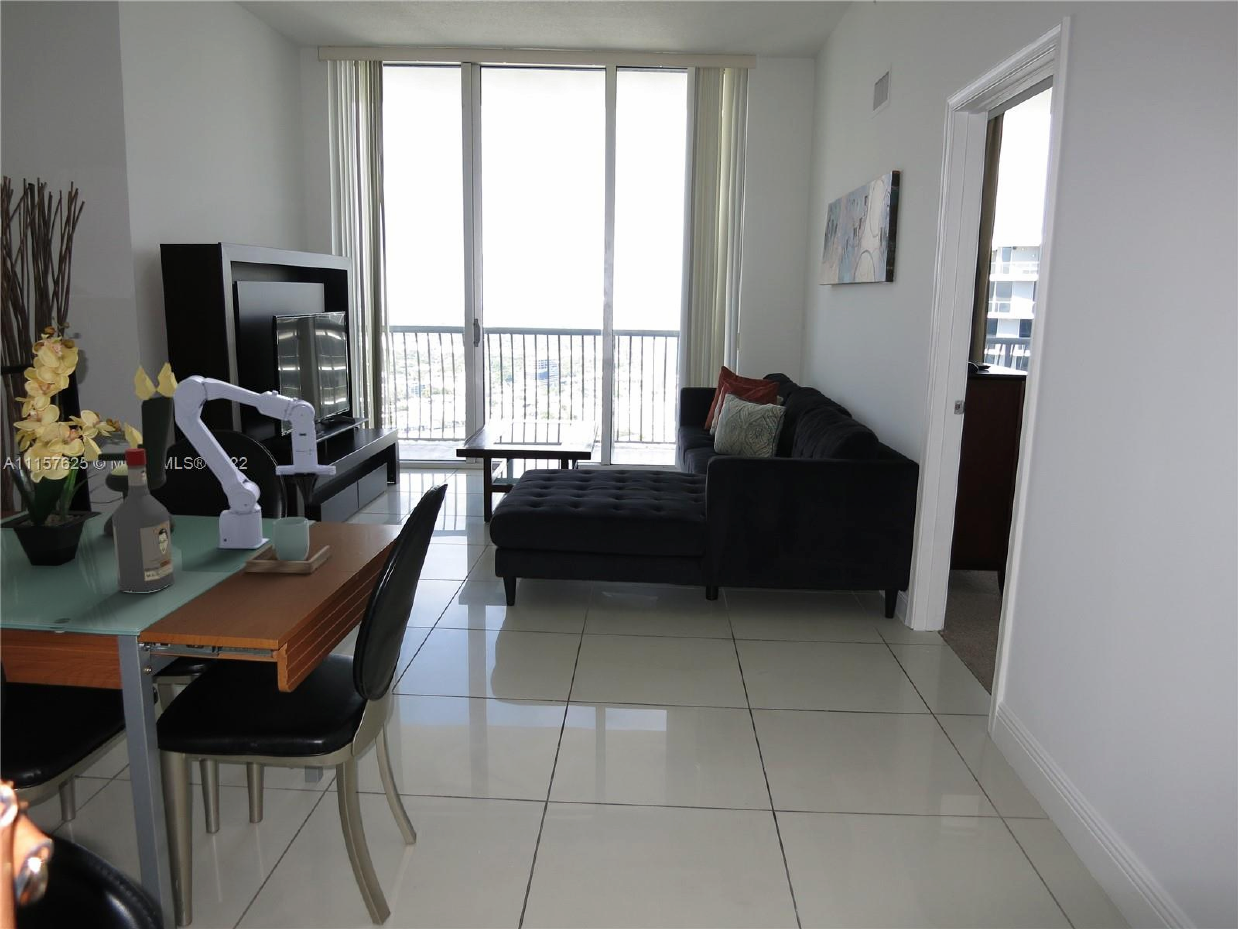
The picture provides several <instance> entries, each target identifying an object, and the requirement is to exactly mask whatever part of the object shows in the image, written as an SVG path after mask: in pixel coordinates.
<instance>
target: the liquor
mask: <svg viewBox="0 0 1238 929" xmlns="http://www.w3.org/2000/svg"><path fill="white" fill-rule="evenodd" d="M124 452H125V456H126V461H125V464H126V465H127V470H128V483H129V490H128V496H127V497H126V498H125V497H124V499H123V501H122V502H121V503H120V504H119V506H118V507H117V508H116V509H115V510H114V511H113V513H112V514H113V516H112V523H113V533H114V538H113V541H114V553H115V554H114V556H115V564H116V574H117V586H118V587H119V589H120V590H121V592H123V591H129V592H130V591H132V592H149V591H154V590H159V589H162V588H164V587H165V586H167V585H169V584H171V583H172V582H174V578H175V576H174V565H173V552H172V550H173V549H172V542H171V541H172V540H171V531H170V525H169V513H170V512H169V511H168V509H167V507H165V506H164V505H163V504H162V503H160V501H158V500H157V499H156V498H155V497H154V496H152V494H151V490H150V491H149V489H148V485H147V476H146V466H145V464H146V456H145V449H131V448H129V449H126V450H124ZM168 512H169V513H168ZM172 584H173V583H172ZM172 584H171V585H172ZM164 589H165V588H164ZM162 590H163V589H162Z"/></svg>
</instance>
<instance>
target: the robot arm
mask: <svg viewBox="0 0 1238 929" xmlns="http://www.w3.org/2000/svg"><path fill="white" fill-rule="evenodd" d="M177 384H178V385H177V388H176V390H175V393H174V396H173V400H174V416H175V418H174V420H175V423H176V425H177V426H178V427H179V429H180V430H181V431H182V432H183V434H184V436H185V437H186V438H187V439H188V442H190V443H191V445H192V446H193V448H194V449H195V450H196V452H197V453H198V454H199V455H200V457H201V458H202V460H203V461H205V463H206V465H207V466H208V467H209V469H210V470H211V471H212V473H213V474H214V475H215V477H216V478H217V479H218V481H219V482H220V483H221V487H222V489H223V492H224V493H225V494H226V495H225V496H227V499H228V506H229V507H230V508H229V509H226V510H222V512H221V513H220V515H219V520H218V529H219V530H218V531H219V541H220V542H219V545H218V547H219V549H244V550H245V549H246V550H247V549H249V550H250V549H251V550H253V549H254V550H257V549H259V548H260V547H262V546H264V544H266V543H267V542H269V540H270V539H269V538H265V537H264V536H263V525H262V524H263V522H262V510H261V509H262V507H261V506H260V505H259V503H258V502H257V501H258V500H259V498H260V496H261V491H260V488H259V486H258V485H257V484H256V483H255V482H254V481H251V480H249V478H248V477H247V476H246V475H245V474H244V473H243V472H241V471H240V470H239V469H238V468H237V466H236V465H235V464H234V463H233V461H232V459H231V458H230V457H229V456H228V454H227V452H226V451H225V450H224V449H223V448H222V446H221V445H220V443H219V442H218V441H217V440H216V438H215V436H214V435H213V433H212V432H211V431H210V430H209V429H208V427H207V426H206V425H205V423H204V422H203V421H202V419H201V417H200V416H201V413H202V410H203V407H204V406H203V405H204V404H205V402H206V401H211V400H213V401H214V400H216V399H217V400H218V399H227V400H230V401H234V402H238V403H241V404H245V405H249V406H253V407H256V409H257V410H258V412H259V413H260V414H262V415H265V416H269V417H271V418H275V419H279V420H281V421H284V422H285V421H286V422H287V421H289V422H290V423H291V427H292V428H291V430H292V431H291V442H292V444H291V446H292V459H293V464H292V465H278V466H276V467H275V474H276V475H277V476H281V475H294V476H293V478H292V480H293V482H294V483H295V484H296V486H297V487H298V489H299V492H300V493H301V497H302V500H303V503H304V504H310V503H312V502H313V497H314V496H313V495H314V491H315V488H316V485H317V482H318V480H319V478H320V475H330V476H334V475H336V474H337V469H336V468H337V467H336V466H335V465H324V464H323V465H321V464H318V451H317V450H318V448H317V431H316V430H315V428H316V426H315V416H316V411H315V408H314V406H313V405H312V404H311V403H310V402H308V401H306V400H299V399H298V398H297V397H293V398H291V397H287V396H284V395H281V394H279V392H278V391H276V390H272V391H265V392H263V393H257V392H255V391H251V390H248V389H246V388H243V387H240V386H237V385H234V384H231V383H228V382H225V381H222V380H219V379H215V378H211V377H206V378H205V377H203V376H201V375H191V376H188V377H187V378H186V379H184V380H182V381H180V382H179V383H177ZM263 537H264V538H263Z"/></svg>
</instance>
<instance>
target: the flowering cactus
mask: <svg viewBox="0 0 1238 929" xmlns="http://www.w3.org/2000/svg"><path fill="white" fill-rule="evenodd" d="M157 380H158V383H159V386H157V388H155V386H154V384H153V382H152V381H151V379H150V377H149V376H148V374H146V372H145V370H144V368H143V366H142V364H140V365H139V366H138V369H137V371H136V374H135V376H134V378H133V383H134V385H135V390H134V391H133V393H134V394H135V395H136V396H137V397H138V398H140V399H141V400H143V401H142V402H141V407H140V408H141V409H140V410H141V433H142V435H141V433H140V432H139V431H138V430H136V429H135V428H134V427H132V426H131V425H129V423H127V422H126V421H124V422H123V423H124V426H123V427H124V437H125V439H126V441H128V443H129V445H130V449H145V456H146V464H145V466H146V476H147V485H148V489H149V491H150V492H151V491H153V490H156V489H159V488H160V487H162V486H164V485H165V483H166V482H167V475H166V463H167V453H168V445H169V439H170V432H171V425H172V420H173V415H174V405H175V402H174V399H173V396H174V393H175V390H176V388H177V385H178V384H179V383H178V382H177V380H176V377H175V374H174V372H172V366H171V364H170V362H167V361H166V362H165V363H164V365H163V367H162V369H161V371H160V372H159V374H158V376H157ZM156 391H157V392H159V393H160V394H161V395H162V396H157V397H156V396H155V395H154V394H155V393H156ZM154 396H155V397H154ZM83 442H84V445H85V452H84V453H83V457H84V458H83V461H84V462H95V461H100V462H126V456H125V451H124V452H122V451H120V452H118V451H117V452H102V451H101V449H100V448H99V447H98V445H97V443H96V442H95V441H94V440H93V439H91V437H89V438H87V437H85V438H84V439H83ZM104 483H105V485H106V487H107V488H108V490H109V489H110V490H111V491H114V492H118V493H124V499H125V498H126V497H127V496H128V490H129V483H128V470H127V465H126V463H123V464H120V465H118V466H117V467H115V468H113V470H112V471H110V472H109V473H108V474H107V475H106V477H105V481H104ZM168 513H169V525H170V532H171V531H173V530H174V528H175V527H176V526H177V522H176V519H175V517H174V516H173V515H172V514H171V513H170V512H169V511H168ZM112 516H113V513H112V514H111V515H110V516H109V517H108V518H107V519H106V521H105V523H104V524H103V529H102V530H103V531H102V532H103V533H104V534H105V535H106V536H108V537H109V538H113V539H114V533H113V523H112Z"/></svg>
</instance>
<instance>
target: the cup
mask: <svg viewBox="0 0 1238 929" xmlns="http://www.w3.org/2000/svg"><path fill="white" fill-rule="evenodd" d="M309 526H310V525H309V519H308V518H306V517H301V516H288V517H282V518H278V519H276V520H273V522H272V532H273V533H272V534H273V546H274V552H275V556H276V558H277V561H306V558H307V557H308V555H309V549H310V528H309Z"/></svg>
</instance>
